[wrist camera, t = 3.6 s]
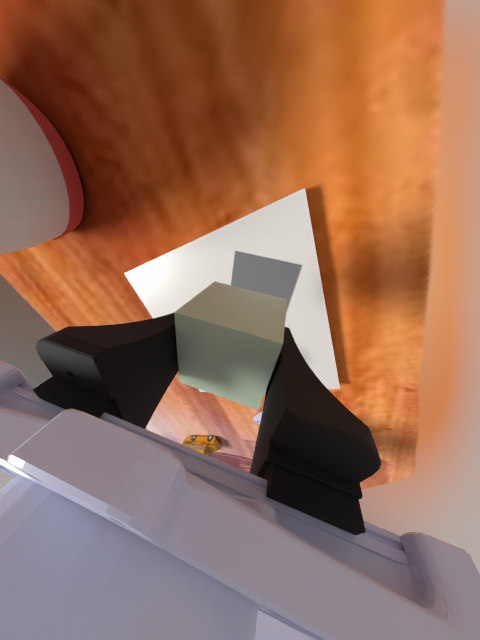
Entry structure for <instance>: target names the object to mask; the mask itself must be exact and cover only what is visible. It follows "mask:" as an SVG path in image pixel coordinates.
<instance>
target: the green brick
mask: <svg viewBox="0 0 480 640" xmlns="http://www.w3.org/2000/svg"><path fill="white" fill-rule="evenodd" d="M286 308H287V299H284V298H280V297H276V296H272V295H268V294H264V293H260V292H256V291H252V290H248V289H244V288H240V287H236V286H232V285H228V284H224V283H220V282H216V281H214V282H213V283H212V284H210V285H209V286H208V287H207V288H205V289H204V290H203V291H201V292H200V293H199V294H197V295H196V296H195V297H194V298H192V299H191V300H190V301H188V302H187V303H186V304H184V305H183V306H182V307H180V308H179V309H178V310H177V311H175V312H174V315H175V329H176V343H177V356H178V370H179V382H181V383H184V384H186V385H189V386H192V387H195V388H198V389H201V390H203V391H206V392H209V393H212V394H215V395H217V396H220V397H223V398H226V399H229V400H231V401H234V402H237V403H240V404H243V405H245V406H248V407H251V408H254V409H257V410H259V407H260V404H261V402H262V399H263V396H264V394H265V391H266V388H267V386H268V383H269V380H270V378H271V375H272V372H273V369H274V367H275V364H276V361H277V359H278V356H279V353H280V351H281V348H282V345H283V340H284V329H285V319H286Z"/></svg>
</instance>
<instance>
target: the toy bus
mask: <svg viewBox="0 0 480 640" xmlns="http://www.w3.org/2000/svg"><path fill="white" fill-rule="evenodd" d="M221 444H222V443H221V442H220V441H219V440H218V439H217V438H216V437H214V436H213V435H209V436H197V435H193V436H190V437H187V438H185V440H184V442H183V444H182V445H184V446H186V447H189V448H191V449H193V450H196V451H198V452H201V453H203V454H205V455H208V456H210V457H211V455H212V453H213V451H217V450H219V449H220V448H221Z"/></svg>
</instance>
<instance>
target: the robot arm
mask: <svg viewBox="0 0 480 640" xmlns="http://www.w3.org/2000/svg"><path fill="white" fill-rule="evenodd" d="M36 349H37V352H38V354H39V356H40V358H41V359H42V361H43V362H44V363H45V365H46V367H47V368H48V369H49V371H50V372H51V374H52V375H53V377H51V378H50V379H48V380H47V381H45V382H44V383H42V384H40V385H38V384H35V383H33V382H31V381H28V380H26V377H25V376H24V374H23V373H22V372H21V371H20V370H19V369H17V368H16V367H14V366H12V365H10V364H7V363H5V362H2V361H0V470H2V471H4V472H6V473H7V474H9V475H11V476H13V477H14V478H13V479H12V480H11V481H10V482H9V483H8V484H7V485H6V486H4V487H3V488H2V489H1V490H0V640H480V574H479V572H478V571H477V568H476V566H475V565H474V563H473V561H472V559H471V557H470V555H469V554H468V553H467V552H466V551H465V550H463V549H460V548H458V547H456V546H453V545H451V544H448V543H446V542H443V541H441V540H438V539H436V538H434V537H431V536H428V535H425V534H422V533H416V532H409V533H405V534H403V535H402V536H399V535H397V534H394V533H392V532H389V531H387V530H385V529H382V528H380V527H378V526H375V525H373V524H370V523H368V522H366V521H363V517H362V513H361V508H360V504H359V499H361V498H362V491H361V487H360V482H362V481H363V480H365V479H367V478H368V477H370V476H372V475H373V474H374V473H376V472H377V471H378V470H379V469H380V466H381V460H380V457H379V454H378V451H377V448H376V445H375V442H374V439H373V437H372V434H371V432H370V430H369V428H368V427H367V426H366V425H365V424H364V423H363V422H362V421H360V420H359V419H358V418H357V417H356V416H355V415H354V414H352V413H351V412H350V411H349V410H348V409H347V408H346V407H345V406H344V405H343V404H342V403H341V402H340V401H339V400H338V399H337V398H336V397H335V396H334V395H333V394H332V393H331V392H330V391H329V390H328V389H327V388H326V387H325V386H324V384H323V383H322V382H321V381H320V380H319V379H318V377H317V376H316V375H315V374H314V372H313V371H312V370H311V368H310V367H309V365H308V364H307V362H306V361H305V359H304V358H303V356H302V354H301V352H300V350H299V349H298V347H297V345H296V343H295V340H294V338H293V336H292V333H291V331H290V329H289V328H288V327H285V329H284V340H283V345H282V348H281V351H280V353H279V356H278V359H277V361H276V364H275V367H274V369H273V372H272V375H271V378H270V380H269V383H268V386H267V388H266V395H265V402H264V407H263V411H261V412H260V413H259V414H257V415H256V416H255V417H254V418H253V420H254V421H255V422H257V423H259V424H260V427H259V432H258V437H257V441H256V446H255V451H254V456H253V460H252V465H251V469H250V473H248V472H246V471H244V470H241V469H239V468H237V467H234V466H232V465H229V464H227V463H225V462H222V461H220V460H217V459H215V458H213V457H210V456H208V455H205V454H203V453H201V452H198V451H196V450H193V449H191V448H189V447H186V446H184V445H182V444H179V443H177V442H174V441H172V440H170V439H167V438H165V437H162V436H160V435H158V434H155V433H153V432H150V431H148V430H146V429H145V428H146V426H147V424H148V422H149V420H150V418H151V416H152V415H153V413H154V411H155V409H156V407H157V405H158V404H159V402H160V400H161V398H162V397H163V395H164V393H165V392H166V390H167V388H168V387H169V385H170V383H171V382H172V380H173V378H174V377H175V375H176V374H177V372H178V371H179V370H178V356H177V343H176V329H175V315H174V313H171V314H168V315H164V316H161V317H157V318H153V319H148V320H144V321H138V322H131V323H125V324H116V325H103V326H76V327H66V328H64V329H62V330H60V331H57V332H55V333H53V334H51V335H49V336H47V337H45V338H43V339H40V340H39V341H38V342H37V345H36ZM358 498H359V499H358Z"/></svg>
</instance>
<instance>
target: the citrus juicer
mask: <svg viewBox="0 0 480 640" xmlns="http://www.w3.org/2000/svg"><path fill="white" fill-rule="evenodd" d="M83 211H84V196H83V190H82V185H81V181H80V178H79V174H78V171H77V169H76V166H75V164H74V161H73V159H72V156H71V154H70V153H69V151H68V149H67V147H66V145H65V143H64V141H63V140H62V138H61V137H60V135H59V134H58V132H57V131H56V129H55V127H54V126H53V125H52V124H51V122H50V121H49V120H48V119H47V118H46V116H45V115H44V114H43V113H42V112H41V111H40V110H39V109H38V108H37V107H36V106H35V105H34V104H33V103H32V102H30V101H29V100H28V99H27V98H26V97H25V96H23V95H22V94H21V93H20V92H19V91H17V90H16V89H15V88H14V87H13V86H11V85H10V84H9V83H8V82H6V81H5V80H4V79H3V78H1V77H0V254H4V253H11V252H16V251H19V250H23V249H27V248H30V247H34V246H37V245H40V244H42V243H45V242H47V241H50V240H55V239H57V238H60V237H62V236H64V235H65V234H67V233H69V232H71V231H72V230H74V229H75V228H76V227H77V226H78V225H79V224H80V222H81V220H82V217H83Z"/></svg>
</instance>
